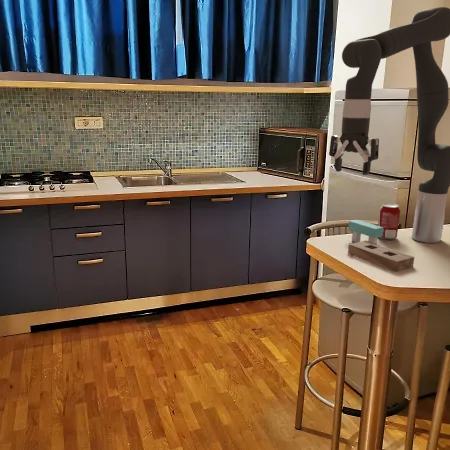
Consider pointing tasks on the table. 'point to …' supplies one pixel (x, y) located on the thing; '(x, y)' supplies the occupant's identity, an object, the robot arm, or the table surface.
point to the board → (381, 255)
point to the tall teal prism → (365, 231)
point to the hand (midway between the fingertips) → (351, 172)
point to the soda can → (389, 220)
